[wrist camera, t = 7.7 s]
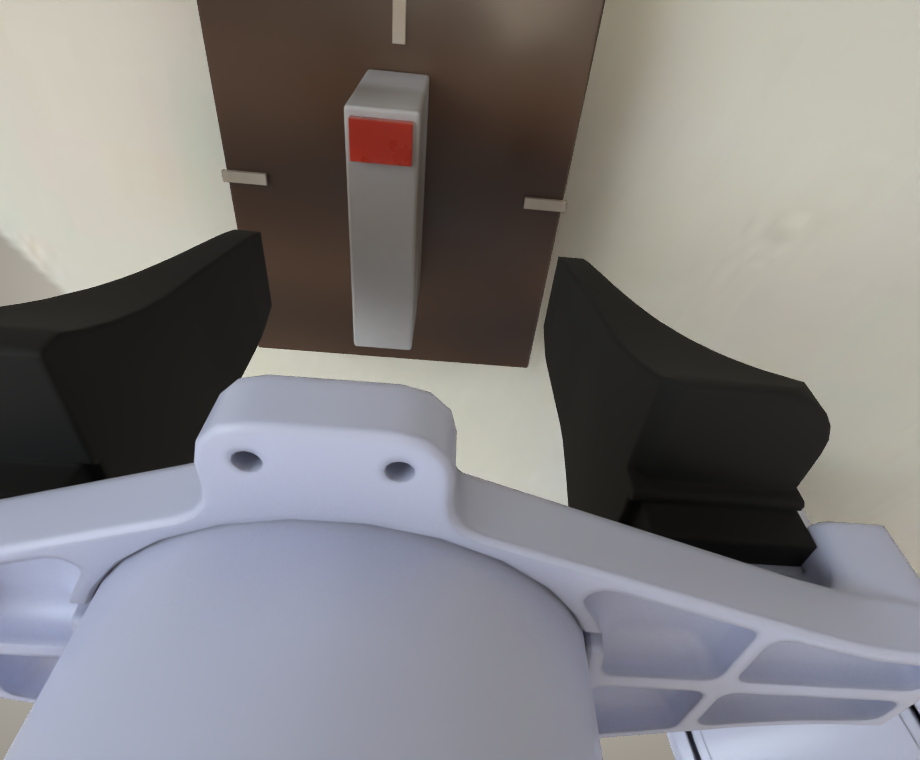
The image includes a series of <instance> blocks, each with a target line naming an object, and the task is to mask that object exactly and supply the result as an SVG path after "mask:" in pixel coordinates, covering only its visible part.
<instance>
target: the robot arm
mask: <svg viewBox="0 0 920 760" xmlns="http://www.w3.org/2000/svg"><path fill="white" fill-rule="evenodd" d="M271 307H272V302H271V295H270V289H269V282H268V276H267V269H266V263H265V256H264V250H263V244H262V237H261V232H258V231H246V230H232V231H229V232H226V233H223V234H221V235H219V236H216V237H214V238H212V239H210V240H208V241H206V242H204V243H202V244H200V245H197V246H195V247H193V248H191V249H189V250H187V251H185V252H183V253H181V254H179V255H177V256H174V257H172V258H170V259H168V260H165V261H163V262H161V263H158V264H156V265H154V266H151V267H149V268H147V269H144V270H142V271H140V272H137V273H135V274H132V275H129V276H126V277H124V278H121V279H118V280H115V281H112V282H109V283H105V284H102V285H99V286H96V287H92V288H89V289H85V290H81V291H77V292H73V293H68V294H64V295H60V296H57V297H52V298H48V299H43V300H38V301H32V302H27V303H22V304H15V305H9V306H2V307H0V698H6V699H12V700H18V701H24V702H30V703H34V705H33V707H32V709H31V711H30V712H29V714H28V716H27V718H26V720H25V721H24V723H23V725H22V727H21V729H20V730H19V732H18V734H17V736H16V738H15V739H14V741H13V743H12V745H11V747H10V748H9V750H8V752H7V754H6V756H5V757H4V759H3V760H603V759H602V752H601V746H600V739H599V738H602V737H603V738H604V737H617V736H628V735H629V736H630V735H643V734H656V733H667V736H668V740H669V743H670V746H671V749H672V752H673V755H674V758H675V760H920V579H919V577H918V576H917V574H916V573H915V571H914V570H913V568H912V567H911V565H910V564H909V562H908V561H907V559H906V558H905V556H904V555H903V553H902V552H901V550H900V549H899V548H898V546H897V545H896V543H895V542H894V540H893V539H892V537H891V536H890V534H889V533H888V531H887V530H886V528H885V527H884V526H881V525H876V524H860V523H845V522H830V521H828V522H819V523H816V524H813V525H812V523H811V522H810V520H809V518H808V516H807V514H806V513H805V511H804V509H803V508H804V500H803V498H802V497H801V495H800V493H799V491H798V490H797V486H798V485H799V484H800V482H801V481H802V479H803V478H804V477H805V475H806V474H807V473H808V471H809V470H810V468H811V467H812V466H813V464H814V463H815V462H816V460H817V459H818V457H819V456H820V455H821V453H822V451H823V450H824V448H825V446H826V444H827V442H828V440H829V434H830V427H831V426H830V423H829V419H828V416H827V414H826V412H825V411H824V409H823V408H822V407H821V405H820V404H819V402H818V401H817V399H816V398H815V397H814V395H813V394H812V392H811V391H810V390H809V388H808V387H807V385H806V384H805V383H804V382H801V381H798V380H794V379H791V378H788V377H784V376H781V375H777V374H774V373H771V372H767V371H764V370H761V369H758V368H755V367H752V366H749V365H747V364H744V363H742V362H739V361H736V360H734V359H731V358H729V357H726V356H724V355H722V354H719V353H717V352H715V351H713V350H710V349H708V348H706V347H704V346H702V345H700V344H698V343H696V342H694V341H692V340H690V339H688V338H687V337H685V336H683V335H681V334H679V333H678V332H676V331H675V330H673V329H671V328H670V327H668V326H666V325H665V324H663V323H662V322H660V321H659V320H657V319H656V318H654V317H653V316H651V315H650V314H649V313H647V312H646V311H645V310H643V309H642V308H641V307H639V306H638V305H637V304H635V303H634V302H633V301H632V300H631V299H629V298H628V297H627V296H626V295H625V294H623V293H622V292H621V291H620V290H619V289H618V288H616V287H615V286H614V285H613V284H612V283H611V282H610V281H609V280H608V279H606V278H605V277H604V276H603V275H602V274H601V273H600V272H599V271H598V270H597V269H595V268H594V267H593V266H592V265H591V264H590V263H588V262H587V261H586V260H584V259H579V258H567V257H558V262H557V267H556V271H555V276H554V280H553V285H552V290H551V294H550V299H549V304H548V308H547V313H546V318H545V322H544V343H545V356H546V362H547V367H548V372H549V376H550V381H551V386H552V390H553V394H554V399H555V403H556V408H557V412H558V417H559V421H560V426H561V432H562V438H563V447H564V457H565V468H566V480H567V493H568V506H565V505H562V504H559V503H556V502H553V501H549V500H546V499H543V498H540V497H537V496H534V495H531V494H527V493H524V492H521V491H518V490H515V489H512V488H509V487H505V486H502V485H499V484H496V483H493V482H490V481H487V480H483V479H480V478H477V477H474V476H471V475H468V474H465V473H463V472H461V471H460V470H458V468H457V466H456V435H457V431H456V427H455V423H454V419H453V415H452V412H451V410H450V409H449V408H448V407H447V406H446V405H445V404H443V403H442V402H441V401H440V400H439V399H438V398H437V397H435V396H434V395H433V394H432V393H430V392H427V391H423V390H420V389H416V388H412V387H409V386H405V385H402V384H389V383H375V382H362V381H348V380H334V379H321V378H307V377H294V376H280V375H261V376H254V377H247V378H241V377H242V375H243V373H244V371H245V370H246V368H247V366H248V364H249V362H250V360H251V358H252V356H253V354H254V352H255V350H256V348H257V346H258V344H259V342H260V340H261V338H262V336H263V333H264V330H265V327H266V324H267V320H268V317H269V314H270V310H271Z"/></svg>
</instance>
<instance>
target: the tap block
mask: <svg viewBox="0 0 920 760" xmlns="http://www.w3.org/2000/svg"><path fill="white" fill-rule="evenodd" d="M604 4H605V0H197V5H198V10H199V16H200V22H201V27H202V33H203V38H204V44H205V50H206V55H207V61H208V66H209V72H210V77H211V83H212V89H213V94H214V100H215V105H216V111H217V117H218V122H219V128H220V133H221V139H222V144H223V150H224V156H225V161H226V167H227V170H226V169H223V170H222V177H223V182H229V183H230V189H231V195H232V200H233V206H234V211H235V217H236V223H237V228H238V230H246V231H258V232H261V237H262V244H263V250H264V256H265V263H266V269H267V276H268V282H269V289H270V295H271V302H272V307H271V310H270V314H269V317H268V320H267V324H266V327H265V330H264V333H263V336H262V338H261V340H260V342H259V344H258V345H259V347H263V348H276V349H289V350H302V351H315V352H329V353H342V354H355V355H368V356H381V357H394V358H407V359H420V360H433V361H446V362H459V363H472V364H485V365H498V366H511V367H524V368H527V367H528V364H529V359H530V354H531V350H532V345H533V340H534V336H535V331H536V326H537V321H538V317H539V312H540V307H541V302H542V298H543V293H544V288H545V283H546V279H547V274H548V269H549V265H550V260H551V255H552V250H553V246H554V241H555V236H556V231H557V227H558V222H559V217H560V212H565V210H566V205H567V201H566V200H563V198H564V194H565V189H566V184H567V179H568V175H569V170H570V165H571V160H572V156H573V151H574V146H575V141H576V137H577V132H578V127H579V122H580V118H581V113H582V108H583V104H584V99H585V94H586V89H587V85H588V80H589V75H590V70H591V66H592V61H593V56H594V51H595V47H596V42H597V37H598V33H599V28H600V23H601V18H602V14H603V9H604ZM370 69H371V70H381V71H392V72H402V73H412V74H422V75H427V76H429V100H428V122H427V143H426V165H425V187H424V209H423V231H422V252H421V274H420V289H419V296H418V304H417V311H416V319H415V326H414V334H413V341H412V348H411V349H410V350H402V349H389V348H376V347H363V346H355V344H354V330H353V308H352V285H351V262H350V240H349V217H348V194H347V172H346V149H345V126H344V106H345V104H346V103H347V101H348V100H349V98H350V97H351V95H352V93H353V92H354V90H355V89H356V87H357V86H358V84H359V83H360V81H361V80H362V78H363V77H364V75H365V74H366V72H367V70H370Z"/></svg>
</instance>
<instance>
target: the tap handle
mask: <svg viewBox="0 0 920 760" xmlns="http://www.w3.org/2000/svg"><path fill="white" fill-rule="evenodd" d="M428 100H429V76H427V75H422V74H412V73H402V72H392V71H381V70H371V69H370V70H367V72H366V74H365V75H364V77H363V78H362V80H361V81H360V83H359V84H358V86H357V87H356V89H355V90H354V92H353V93H352V95H351V97H350V98H349V100H348V101H347V103H346V104H345V106H344V126H345V149H346V172H347V194H348V217H349V240H350V262H351V285H352V308H353V330H354V344H355V346H363V347H376V348H389V349H402V350H410V349H411V348H412V341H413V334H414V326H415V319H416V311H417V304H418V296H419V289H420V274H421V252H422V231H423V209H424V187H425V165H426V143H427V122H428Z"/></svg>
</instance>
